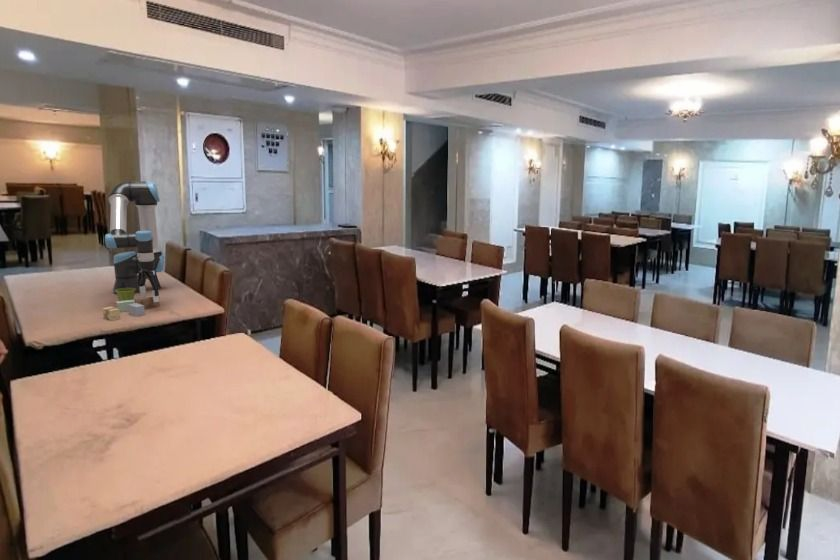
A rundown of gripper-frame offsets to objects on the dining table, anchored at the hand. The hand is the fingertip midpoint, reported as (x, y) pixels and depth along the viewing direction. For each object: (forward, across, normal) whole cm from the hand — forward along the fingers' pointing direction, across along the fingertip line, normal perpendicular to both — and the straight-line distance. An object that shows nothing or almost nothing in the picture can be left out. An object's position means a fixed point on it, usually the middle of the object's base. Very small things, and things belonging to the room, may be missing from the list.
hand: (149, 300), depth 269 cm
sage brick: (+4, -4, -11) cm, 12 cm away
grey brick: (+4, +8, -11) cm, 14 cm away
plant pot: (+4, -14, -6) cm, 15 cm away
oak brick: (+4, +6, -22) cm, 23 cm away
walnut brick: (+4, 0, 0) cm, 4 cm away
